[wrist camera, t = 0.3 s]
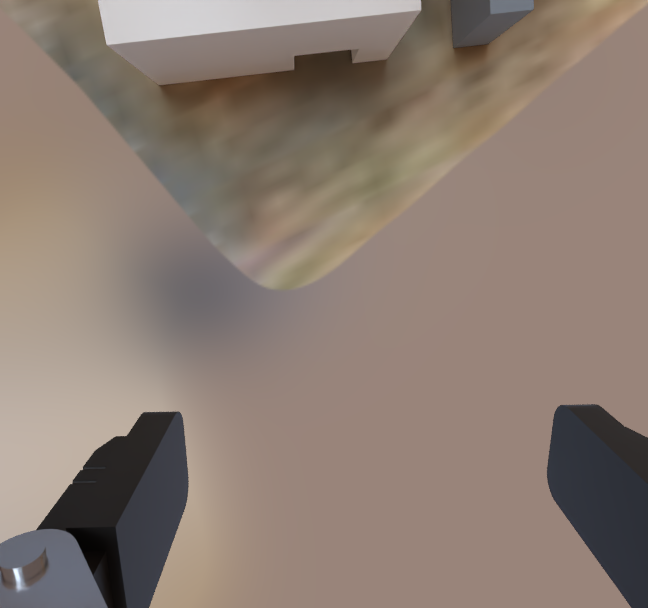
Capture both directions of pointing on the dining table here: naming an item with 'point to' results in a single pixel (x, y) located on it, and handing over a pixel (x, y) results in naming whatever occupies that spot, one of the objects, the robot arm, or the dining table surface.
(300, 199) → the dining table surface
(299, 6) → the white slotted plate
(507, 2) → the grey slotted plate
